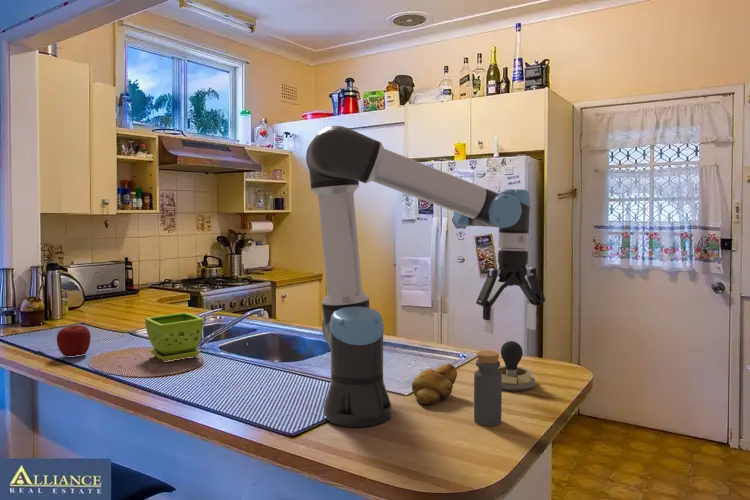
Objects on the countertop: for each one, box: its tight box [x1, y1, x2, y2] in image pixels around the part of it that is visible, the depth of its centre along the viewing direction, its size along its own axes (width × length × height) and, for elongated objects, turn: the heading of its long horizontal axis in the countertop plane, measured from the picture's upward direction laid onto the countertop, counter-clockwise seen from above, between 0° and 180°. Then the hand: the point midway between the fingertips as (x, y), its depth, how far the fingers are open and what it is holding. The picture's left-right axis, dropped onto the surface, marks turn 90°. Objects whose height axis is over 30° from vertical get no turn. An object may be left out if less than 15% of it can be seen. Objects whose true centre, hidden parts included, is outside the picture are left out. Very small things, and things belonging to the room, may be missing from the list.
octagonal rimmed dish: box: [497, 365, 536, 393], centre depth 145 cm, size 12×12×4 cm
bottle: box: [473, 350, 503, 427], centre depth 119 cm, size 6×6×15 cm
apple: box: [56, 324, 92, 357], centre depth 175 cm, size 10×10×10 cm
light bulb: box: [500, 340, 524, 376], centre depth 144 cm, size 6×6×10 cm
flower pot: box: [144, 312, 204, 362], centre depth 173 cm, size 14×14×13 cm
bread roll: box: [411, 363, 458, 405], centre depth 134 cm, size 13×10×8 cm
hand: (510, 330), depth 144 cm, fingers open, 13 cm apart
